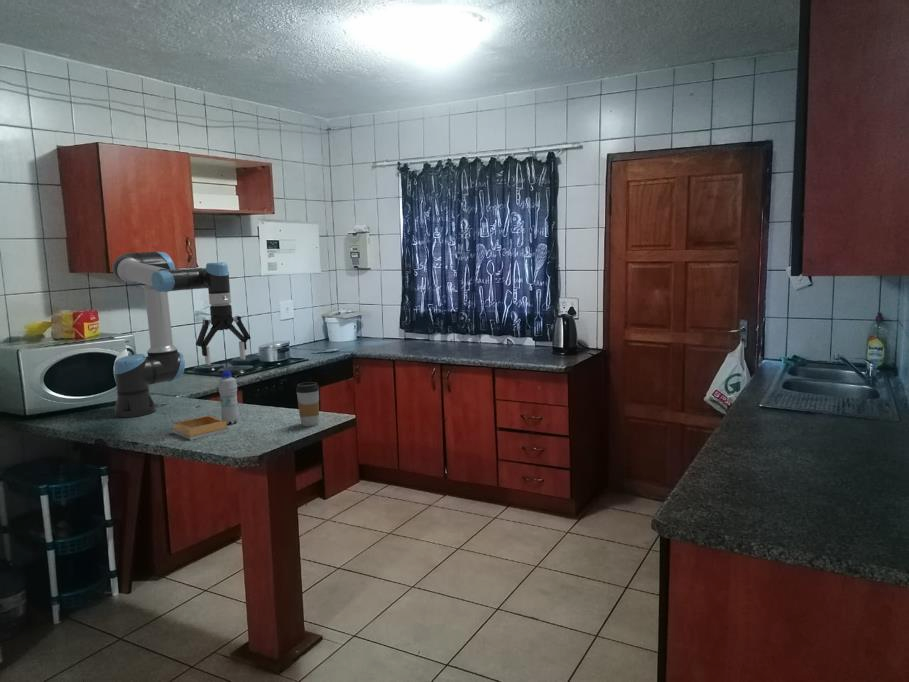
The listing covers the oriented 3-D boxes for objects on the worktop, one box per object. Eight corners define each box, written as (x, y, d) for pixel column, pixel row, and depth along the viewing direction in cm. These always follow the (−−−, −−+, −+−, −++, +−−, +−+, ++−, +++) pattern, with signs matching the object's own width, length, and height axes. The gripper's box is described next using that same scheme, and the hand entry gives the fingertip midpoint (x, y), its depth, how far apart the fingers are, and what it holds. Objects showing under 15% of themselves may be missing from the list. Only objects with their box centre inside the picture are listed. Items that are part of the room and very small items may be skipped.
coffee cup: (296, 423, 245) (293, 383, 242) (318, 419, 248) (316, 380, 246) (300, 428, 237) (297, 387, 235) (323, 425, 240) (321, 385, 238)
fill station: (172, 432, 238) (171, 422, 237) (210, 424, 247) (209, 414, 247) (190, 440, 227) (189, 430, 226) (228, 431, 237) (227, 421, 236)
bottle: (234, 425, 244) (229, 372, 241) (218, 425, 246) (213, 372, 243) (243, 420, 251) (239, 369, 248) (227, 420, 252) (223, 368, 249)
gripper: (191, 308, 230) (197, 368, 233) (256, 302, 248) (261, 357, 251) (182, 307, 236) (188, 365, 239) (247, 301, 253) (251, 355, 256)
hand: (225, 361), depth 245 cm, fingers open, 13 cm apart
